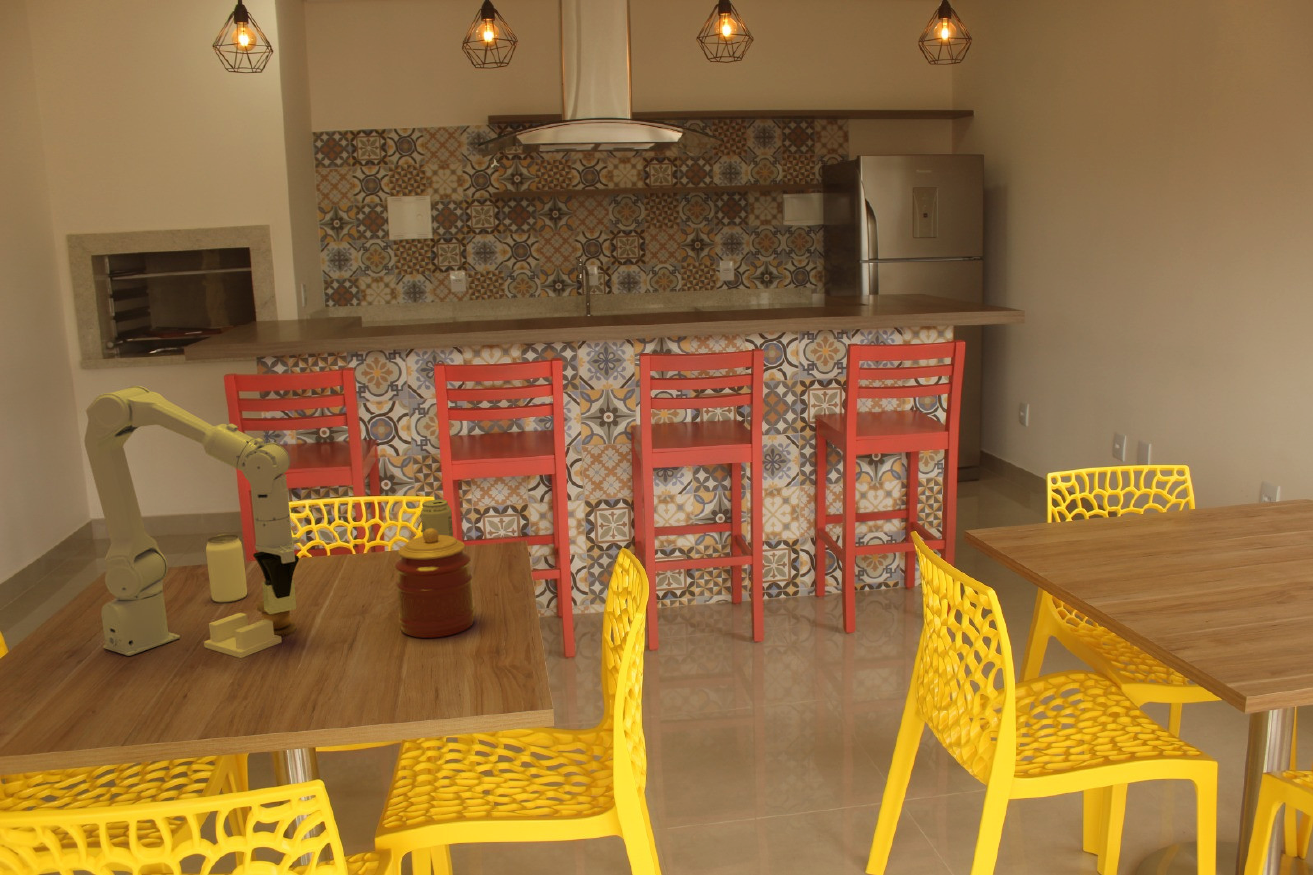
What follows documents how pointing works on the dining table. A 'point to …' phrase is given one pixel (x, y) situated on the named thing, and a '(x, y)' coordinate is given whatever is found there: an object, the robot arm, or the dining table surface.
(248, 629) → the notch board
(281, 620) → the bobbin
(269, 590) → the tab
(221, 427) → the robot arm
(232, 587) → the can
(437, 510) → the energy drink can
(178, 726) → the dining table surface
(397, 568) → the canister
